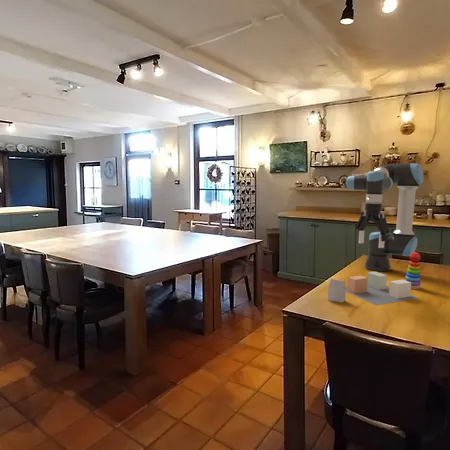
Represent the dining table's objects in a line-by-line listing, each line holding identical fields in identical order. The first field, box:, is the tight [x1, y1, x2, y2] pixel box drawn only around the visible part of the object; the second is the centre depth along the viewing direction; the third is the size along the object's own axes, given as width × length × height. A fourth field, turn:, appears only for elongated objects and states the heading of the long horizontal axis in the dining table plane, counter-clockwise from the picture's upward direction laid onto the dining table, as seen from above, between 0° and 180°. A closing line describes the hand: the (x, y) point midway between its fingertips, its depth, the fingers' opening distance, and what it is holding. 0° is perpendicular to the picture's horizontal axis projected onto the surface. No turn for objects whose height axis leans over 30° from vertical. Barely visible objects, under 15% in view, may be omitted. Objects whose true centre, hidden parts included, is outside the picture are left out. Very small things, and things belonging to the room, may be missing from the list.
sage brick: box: [367, 271, 388, 290], centre depth 188 cm, size 8×5×7 cm, turn 21°
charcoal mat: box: [345, 285, 420, 306], centre depth 179 cm, size 26×26×1 cm
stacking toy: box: [404, 251, 422, 290], centre depth 189 cm, size 8×8×19 cm
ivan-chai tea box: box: [327, 278, 347, 304], centre depth 169 cm, size 4×7×10 cm, turn 49°
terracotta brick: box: [347, 275, 368, 294], centre depth 182 cm, size 8×5×7 cm, turn 111°
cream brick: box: [389, 279, 412, 299], centre depth 175 cm, size 8×5×7 cm, turn 111°
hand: (370, 245), depth 182 cm, fingers open, 13 cm apart
